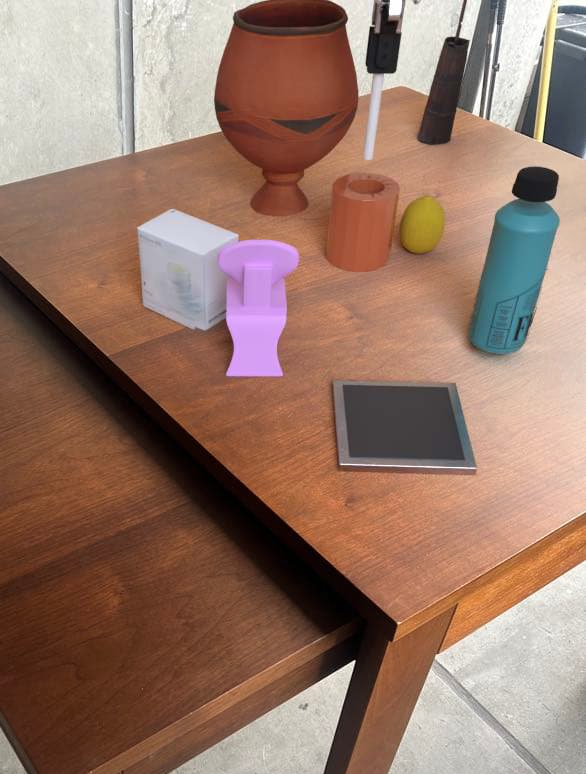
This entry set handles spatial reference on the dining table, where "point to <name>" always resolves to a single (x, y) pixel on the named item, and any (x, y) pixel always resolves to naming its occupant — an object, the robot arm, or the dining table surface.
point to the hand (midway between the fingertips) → (380, 68)
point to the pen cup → (361, 221)
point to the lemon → (422, 225)
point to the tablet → (401, 428)
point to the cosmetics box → (184, 268)
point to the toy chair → (256, 302)
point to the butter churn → (445, 89)
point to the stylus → (373, 116)
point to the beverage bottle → (515, 263)
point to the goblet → (286, 93)
